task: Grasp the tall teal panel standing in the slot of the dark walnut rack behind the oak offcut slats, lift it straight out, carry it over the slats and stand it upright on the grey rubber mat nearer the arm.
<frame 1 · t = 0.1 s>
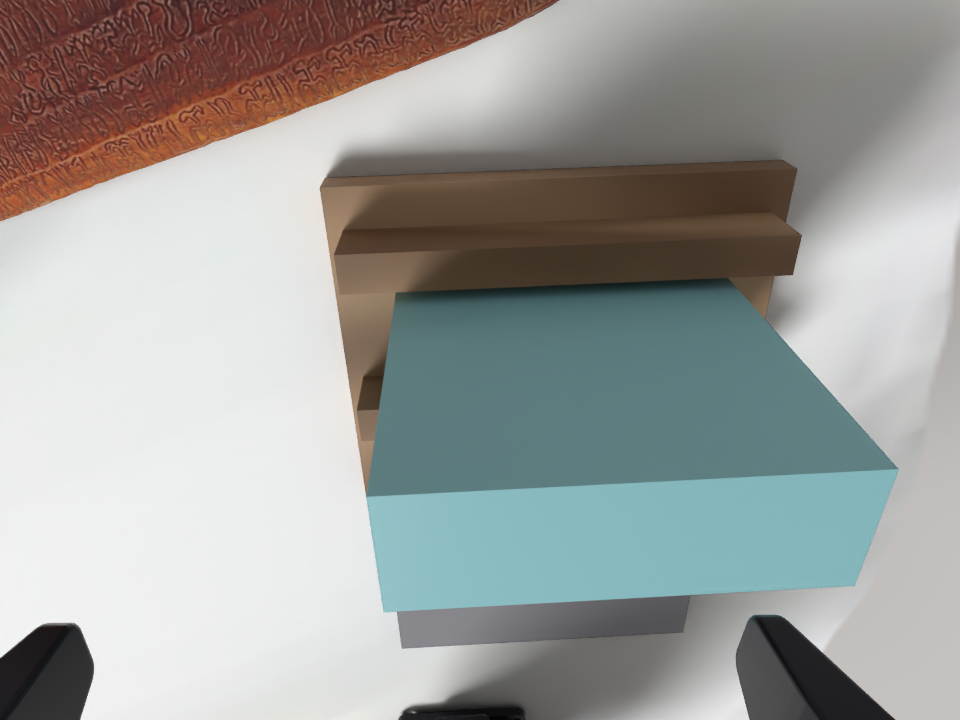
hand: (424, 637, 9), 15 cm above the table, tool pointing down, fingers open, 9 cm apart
teal panel: (555, 315, 22), point 1 cm above the table, touching walnut rack
grey rubber mat: (543, 569, 29), on the table
walnut rack: (550, 340, 24), on the table
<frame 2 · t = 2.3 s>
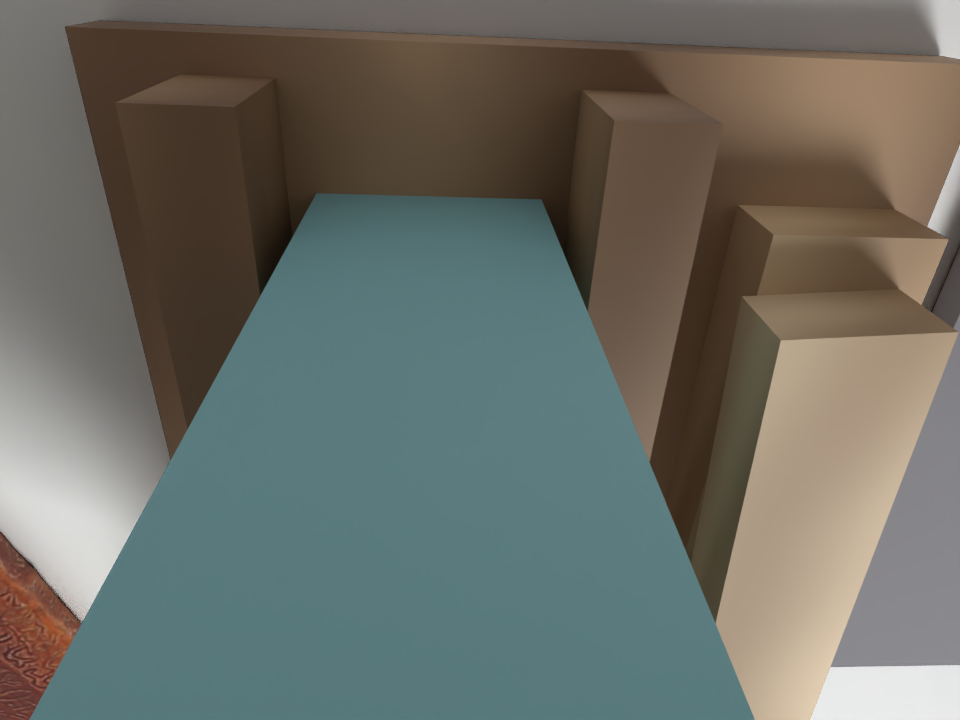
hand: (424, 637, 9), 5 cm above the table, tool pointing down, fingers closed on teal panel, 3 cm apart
teal panel: (428, 469, 12), point 1 cm above the table, touching gripper, walnut rack
walnut rack: (507, 435, 13), on the table
oak offcut slats: (736, 469, 12), point 1 cm above the table, touching walnut rack
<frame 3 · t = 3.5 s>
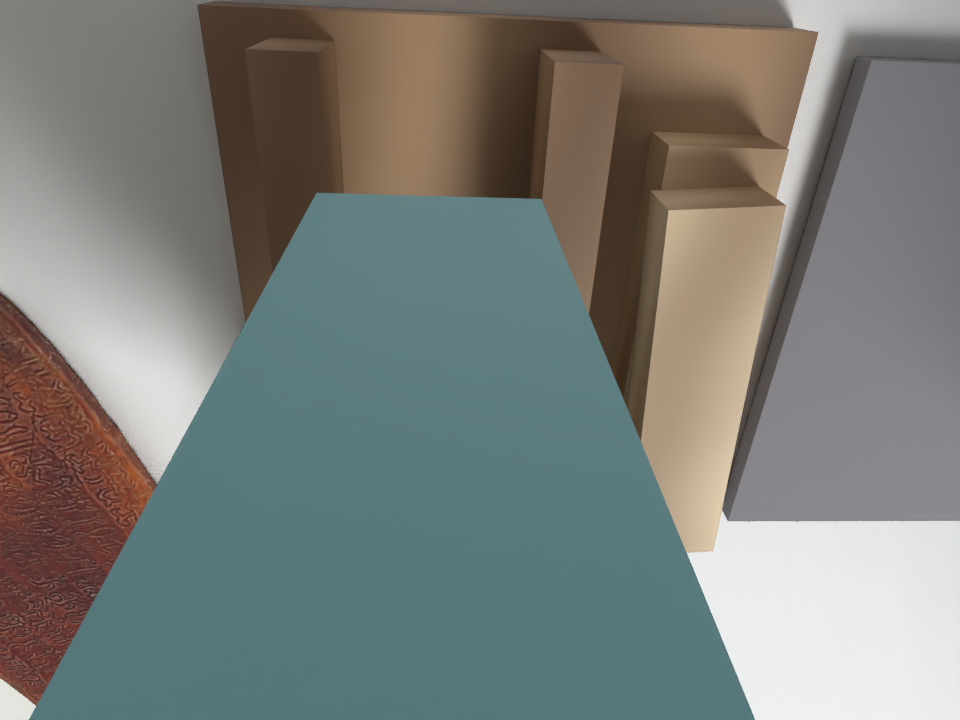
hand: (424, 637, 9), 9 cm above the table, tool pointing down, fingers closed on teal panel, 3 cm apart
teal panel: (428, 468, 12), point 6 cm above the table, touching gripper
wooden tablet: (137, 628, 24), on the table
grey rubber mat: (920, 326, 18), on the table
walnut rack: (494, 319, 17), on the table
oak offcut slats: (664, 340, 17), point 1 cm above the table, touching walnut rack
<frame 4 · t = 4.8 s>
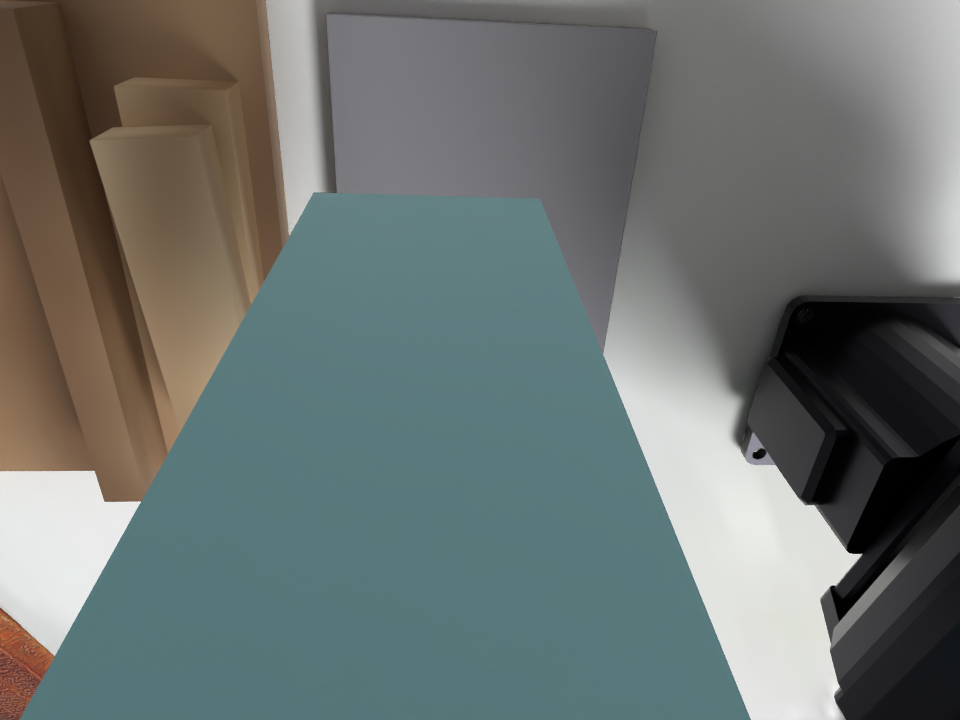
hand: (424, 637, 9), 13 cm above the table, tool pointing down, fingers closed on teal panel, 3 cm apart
teal panel: (427, 469, 12), point 9 cm above the table, touching gripper
grey rubber mat: (479, 264, 20), on the table
walnut rack: (75, 256, 19), on the table
oak offcut slats: (218, 273, 19), point 1 cm above the table, touching walnut rack
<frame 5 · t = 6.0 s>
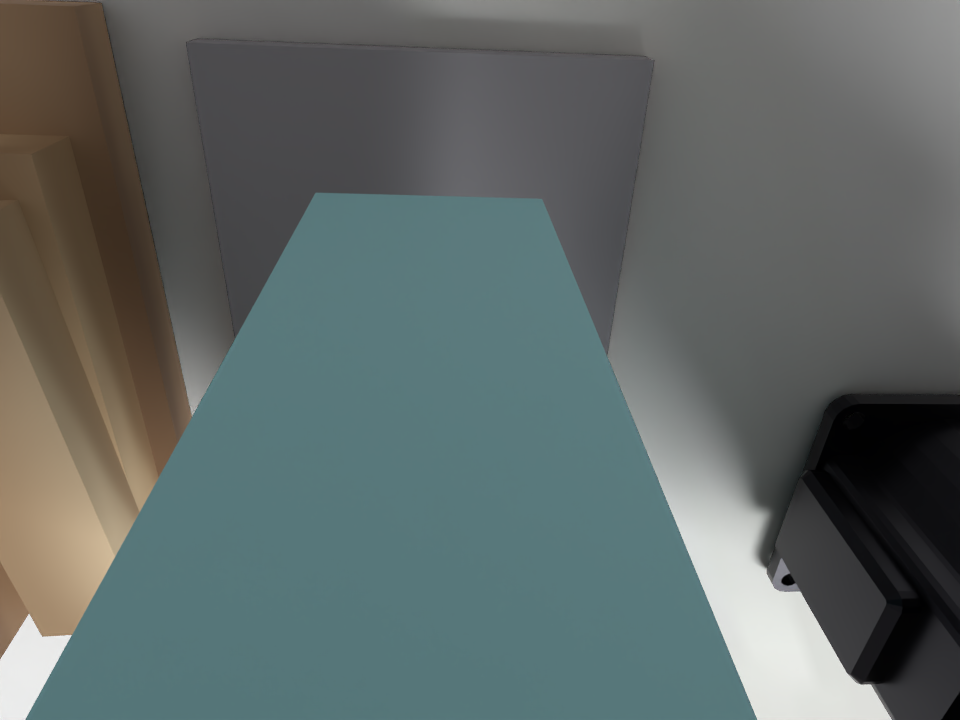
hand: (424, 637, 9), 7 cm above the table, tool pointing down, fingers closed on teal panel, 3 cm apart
teal panel: (428, 469, 12), point 4 cm above the table, touching gripper
grey rubber mat: (425, 359, 15), on the table
oak offcut slats: (74, 380, 14), point 1 cm above the table, touching walnut rack
when the fingers open (5 cm above the table, at t = 7.1 s): teal panel stays where it is, resting on grey rubber mat.
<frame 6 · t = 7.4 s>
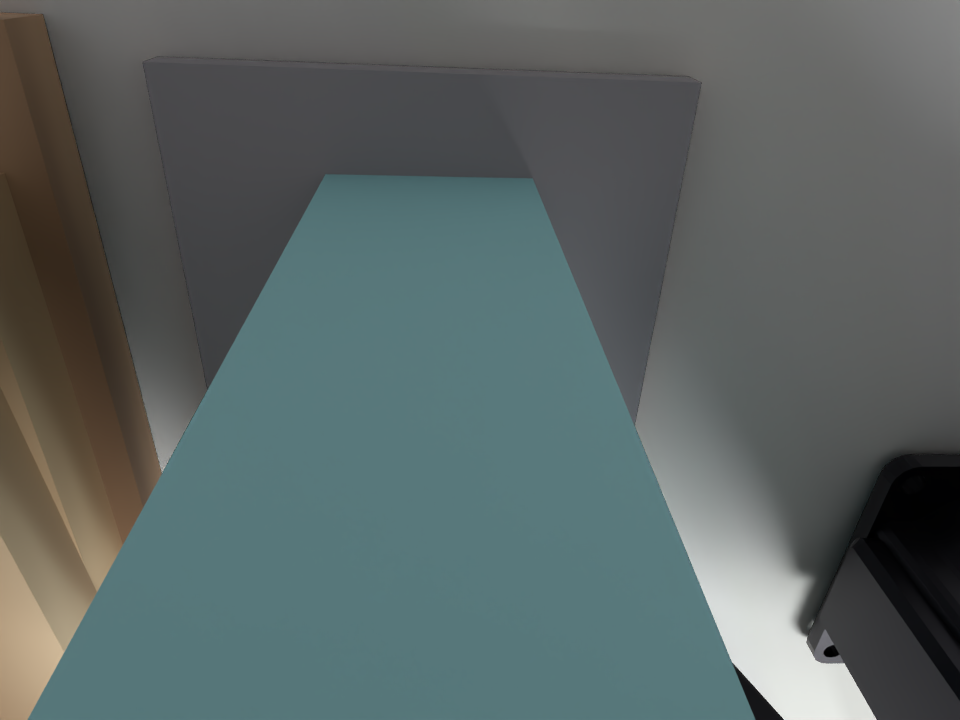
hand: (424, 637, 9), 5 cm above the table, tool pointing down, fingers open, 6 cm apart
teal panel: (431, 435, 13), point 1 cm above the table, touching grey rubber mat
grey rubber mat: (428, 417, 13), on the table
oak offcut slats: (23, 447, 12), point 1 cm above the table, touching walnut rack
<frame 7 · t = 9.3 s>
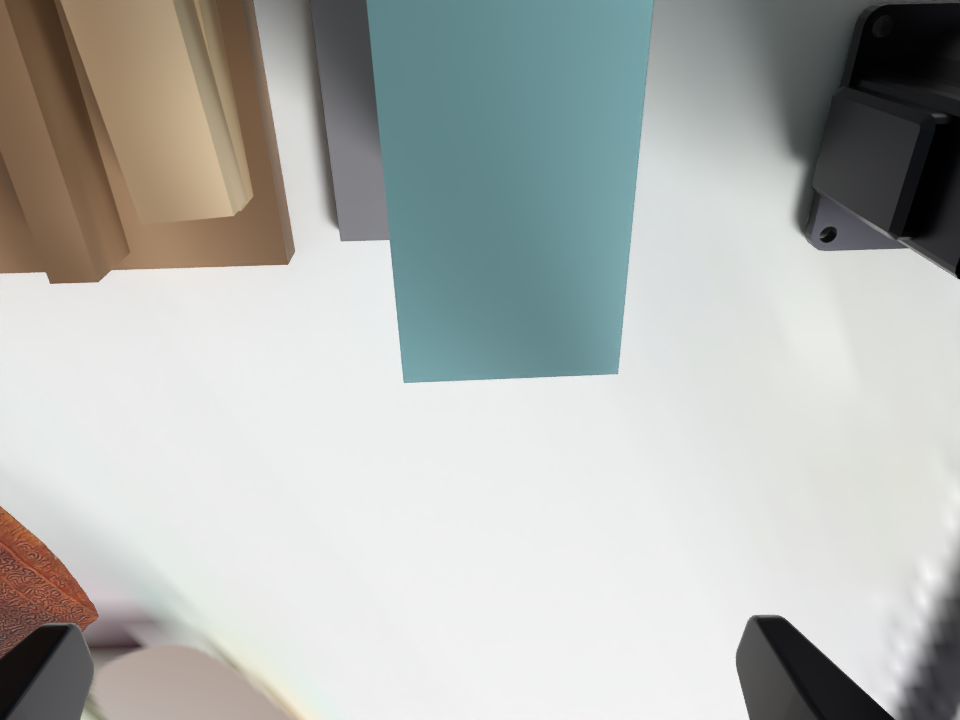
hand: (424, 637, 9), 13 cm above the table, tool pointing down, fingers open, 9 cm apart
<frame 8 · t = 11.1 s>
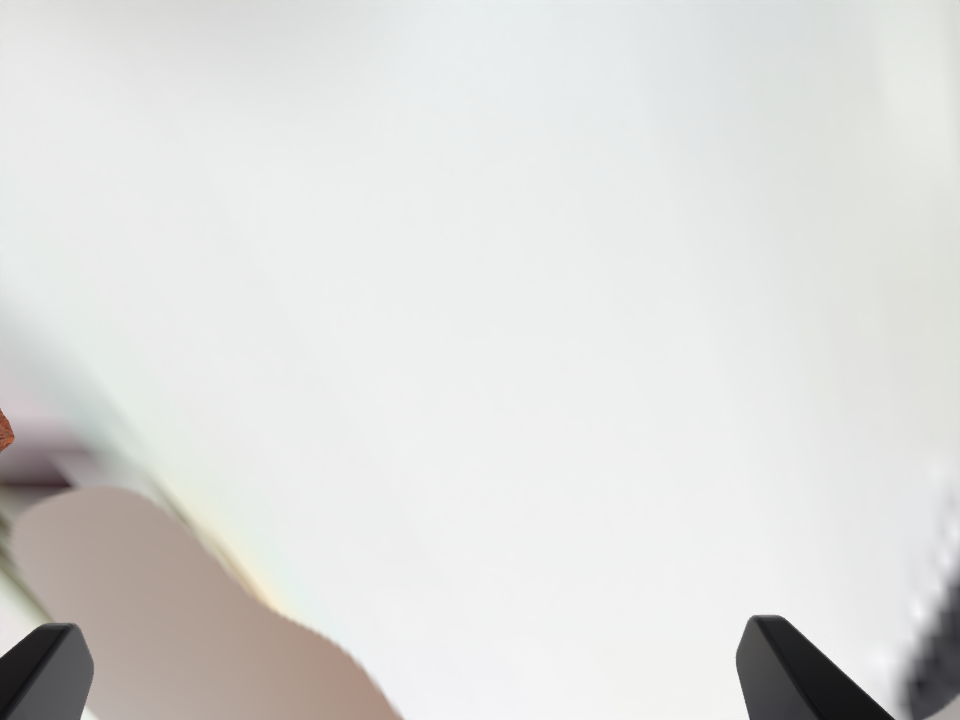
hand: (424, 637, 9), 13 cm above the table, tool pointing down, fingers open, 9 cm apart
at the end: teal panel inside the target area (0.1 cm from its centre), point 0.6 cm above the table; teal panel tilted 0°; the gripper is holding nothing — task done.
